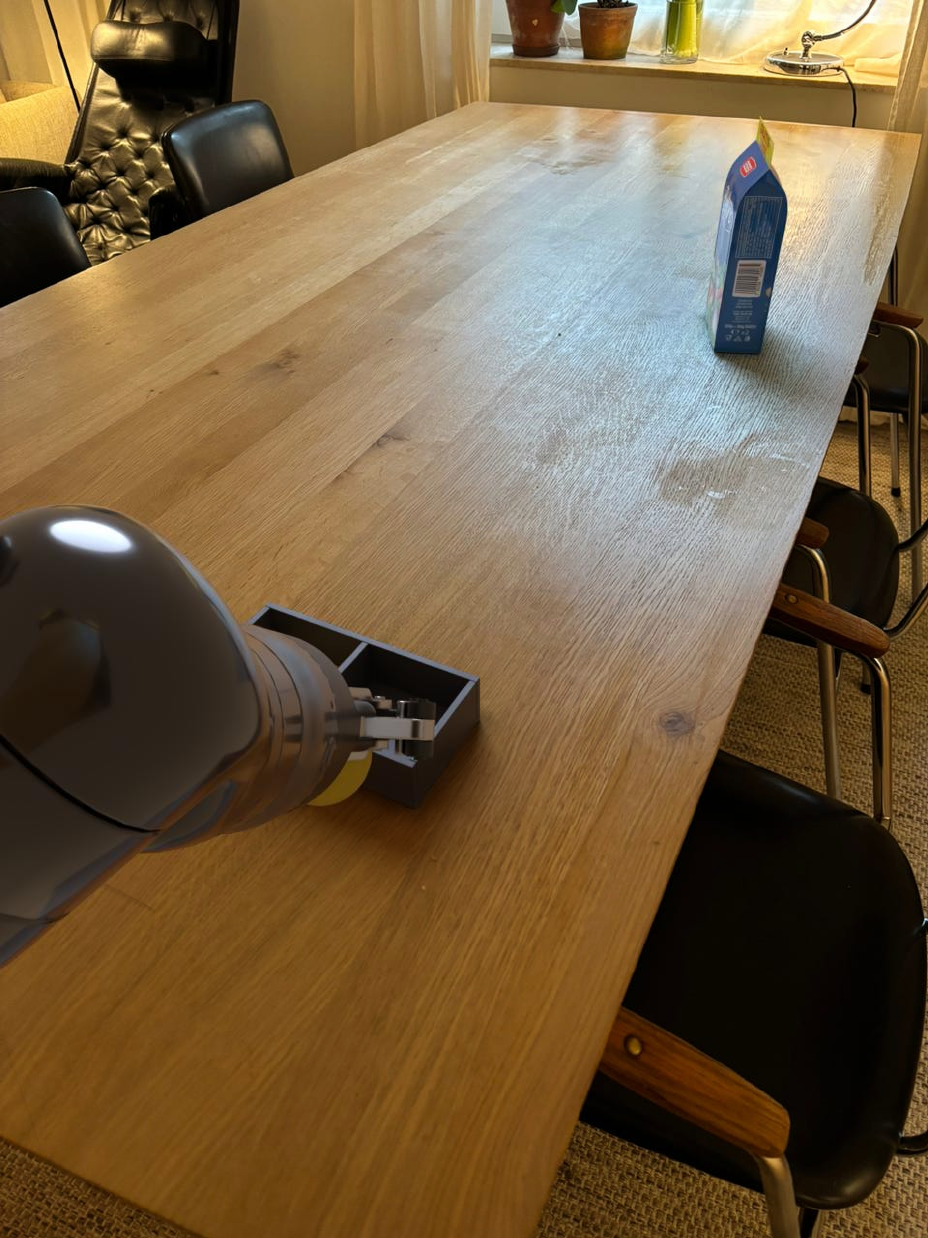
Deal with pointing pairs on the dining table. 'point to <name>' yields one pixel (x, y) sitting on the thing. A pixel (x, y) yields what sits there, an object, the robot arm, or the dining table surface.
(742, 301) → the blue food package
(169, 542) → the robot arm
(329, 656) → the sorter
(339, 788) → the lemon
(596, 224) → the dining table surface
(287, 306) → the dining table surface
